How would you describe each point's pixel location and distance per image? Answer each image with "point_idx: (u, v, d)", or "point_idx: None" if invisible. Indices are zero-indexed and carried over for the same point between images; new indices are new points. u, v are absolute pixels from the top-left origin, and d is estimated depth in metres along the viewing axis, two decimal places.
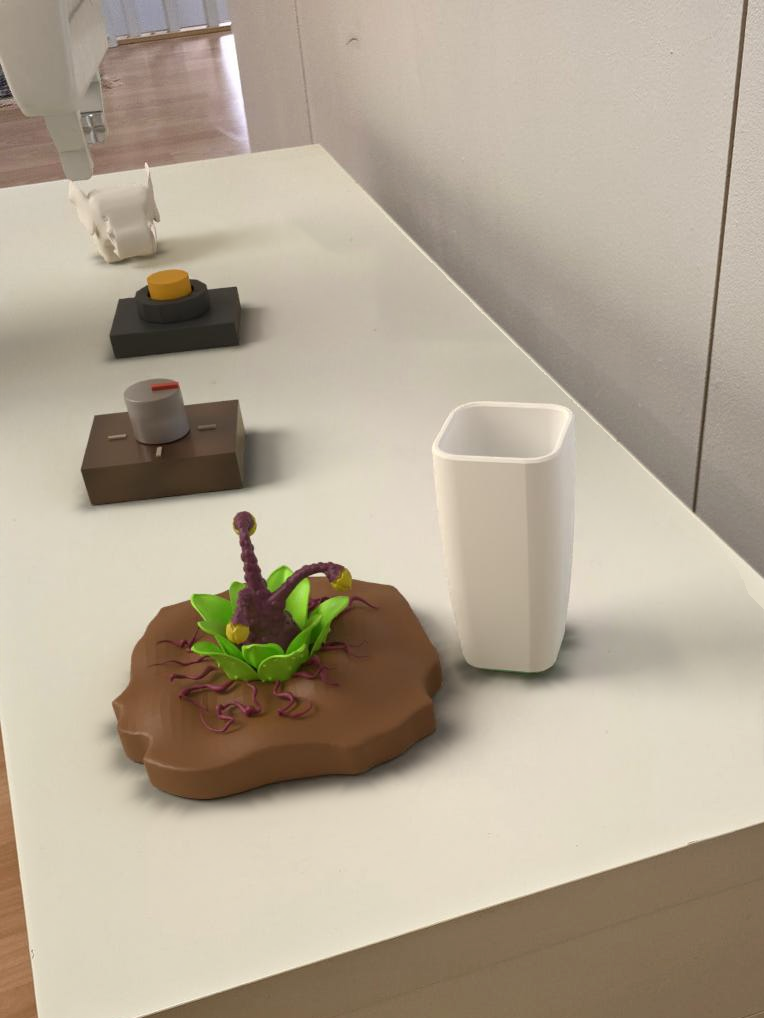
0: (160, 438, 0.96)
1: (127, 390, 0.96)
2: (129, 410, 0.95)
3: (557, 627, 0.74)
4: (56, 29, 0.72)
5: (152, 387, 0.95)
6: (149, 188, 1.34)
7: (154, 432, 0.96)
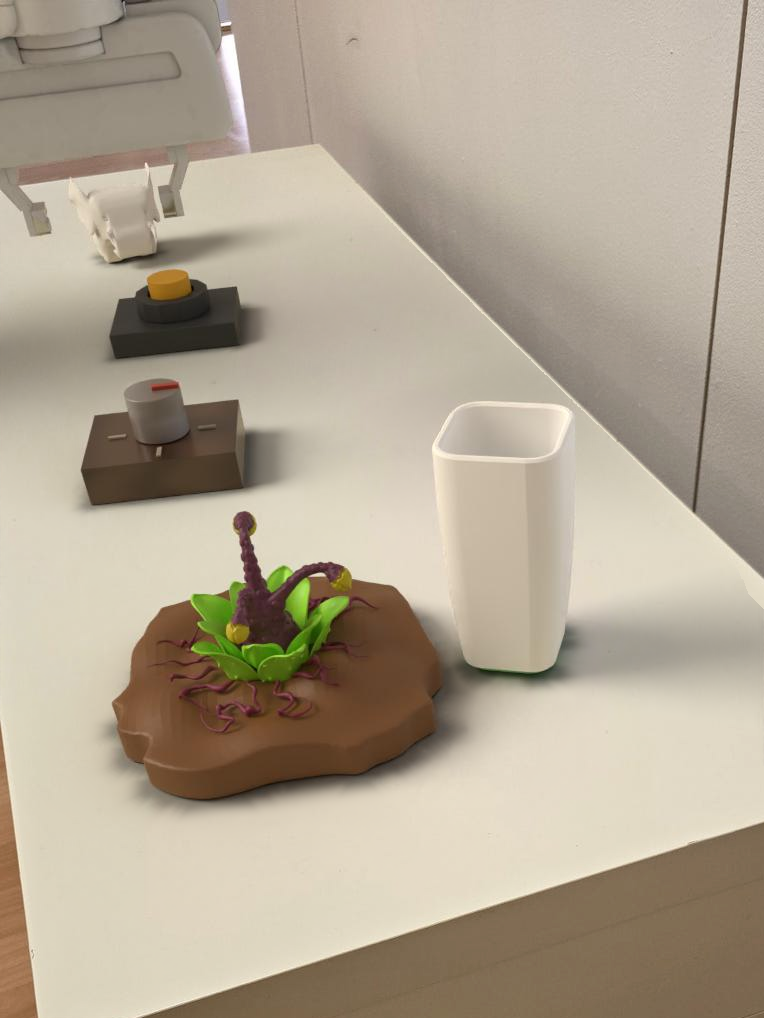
0: (160, 438, 0.96)
1: (127, 390, 0.96)
2: (129, 410, 0.95)
3: (557, 627, 0.74)
4: None
5: (152, 387, 0.95)
6: (149, 188, 1.34)
7: (154, 432, 0.96)
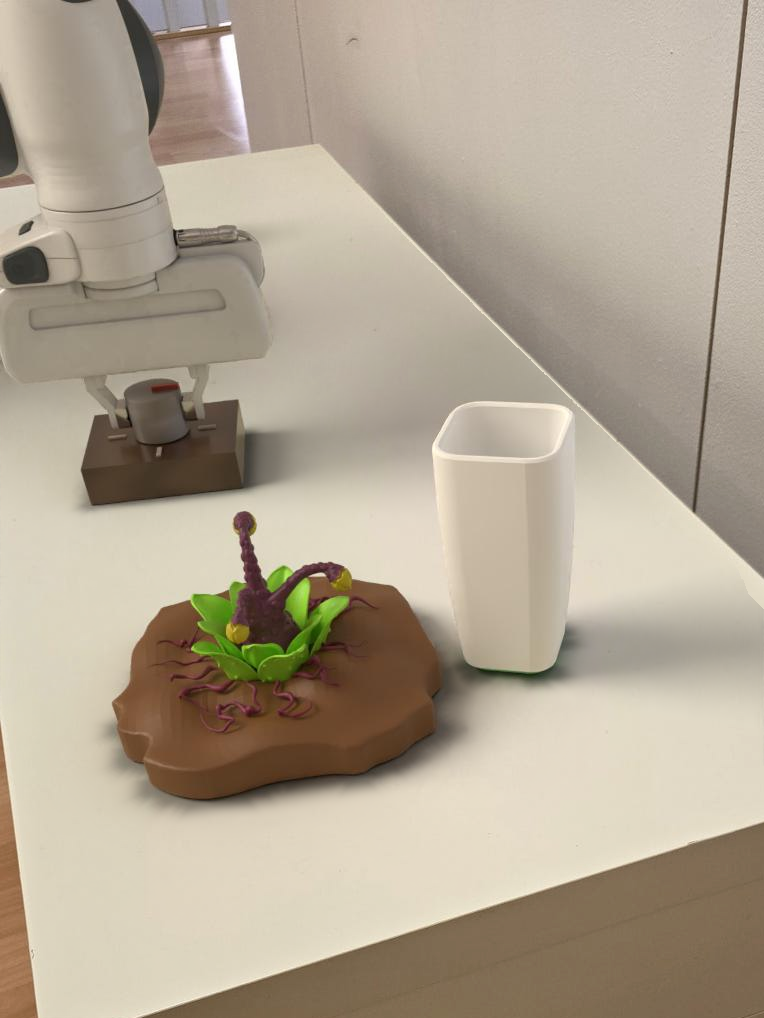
0: (160, 438, 0.96)
1: (127, 390, 0.96)
2: (129, 410, 0.95)
3: (557, 627, 0.74)
4: None
5: (152, 387, 0.95)
6: None
7: (154, 432, 0.96)
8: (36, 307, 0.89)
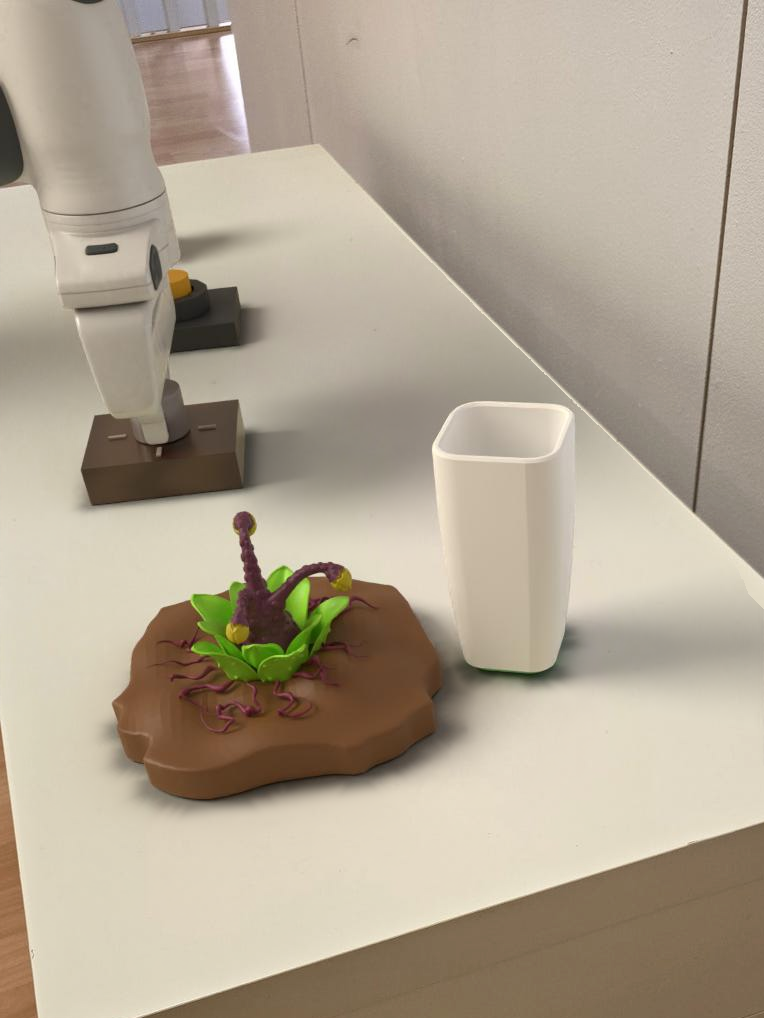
0: (188, 423, 0.98)
1: None
2: (166, 410, 0.95)
3: (557, 627, 0.74)
4: (144, 356, 0.84)
5: None
6: None
7: (186, 418, 0.97)
8: None
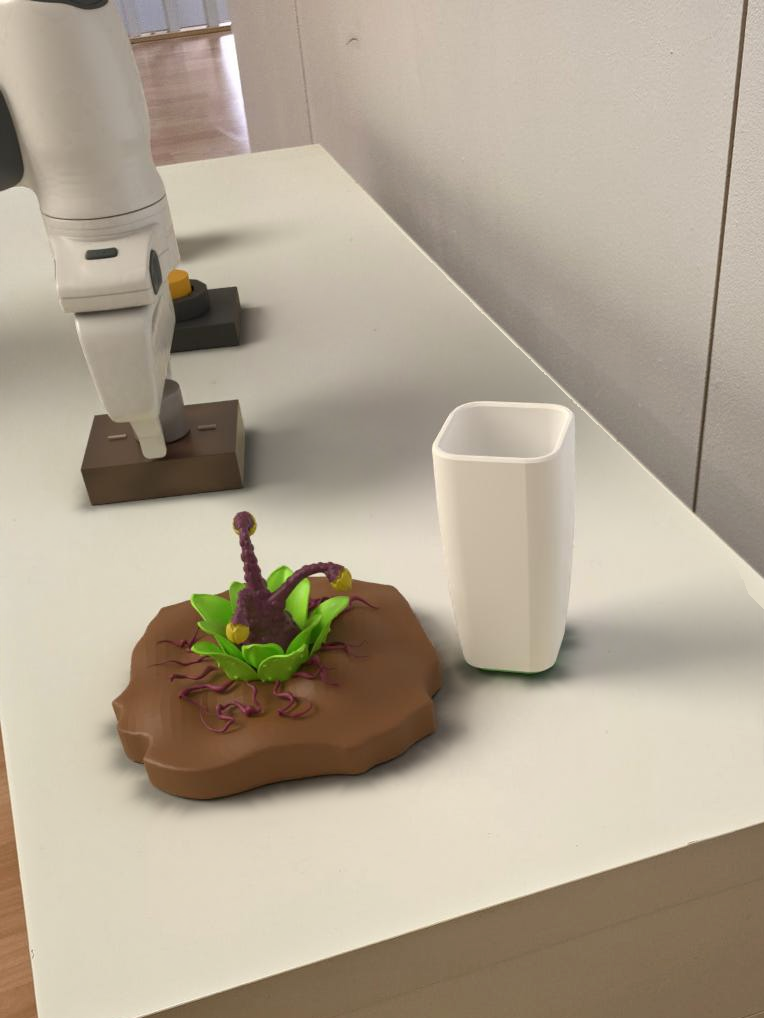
0: (188, 423, 0.98)
1: None
2: (166, 410, 0.95)
3: (557, 627, 0.74)
4: (144, 360, 0.84)
5: None
6: None
7: (186, 418, 0.97)
8: None
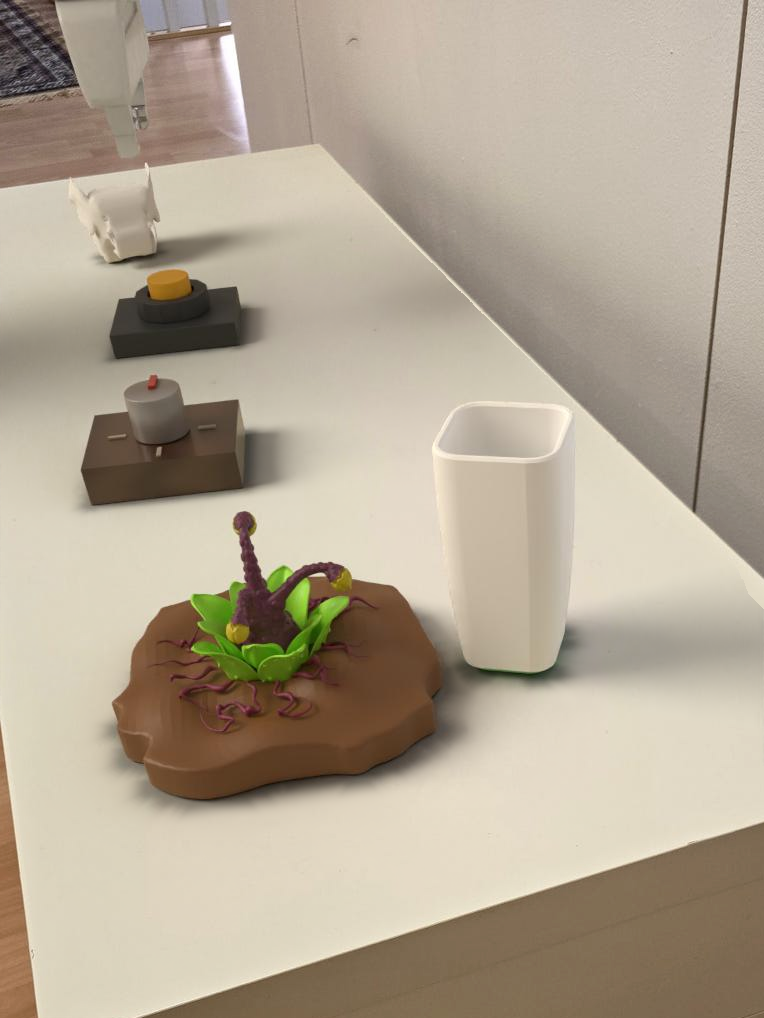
0: (188, 423, 0.98)
1: (144, 400, 0.94)
2: (166, 410, 0.95)
3: (557, 627, 0.74)
4: (116, 43, 0.96)
5: (153, 385, 0.95)
6: (149, 188, 1.34)
7: (186, 418, 0.97)
8: None
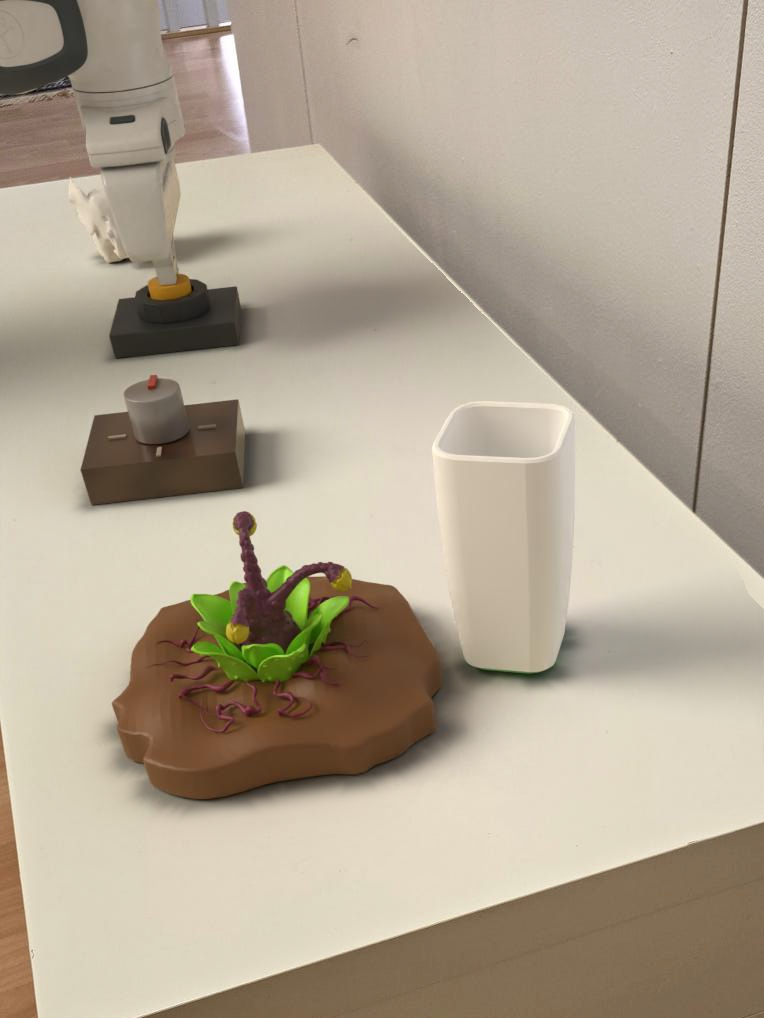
0: (188, 423, 0.98)
1: (144, 400, 0.94)
2: (166, 410, 0.95)
3: (557, 627, 0.74)
4: (156, 207, 1.05)
5: (153, 385, 0.95)
6: None
7: (186, 418, 0.97)
8: None
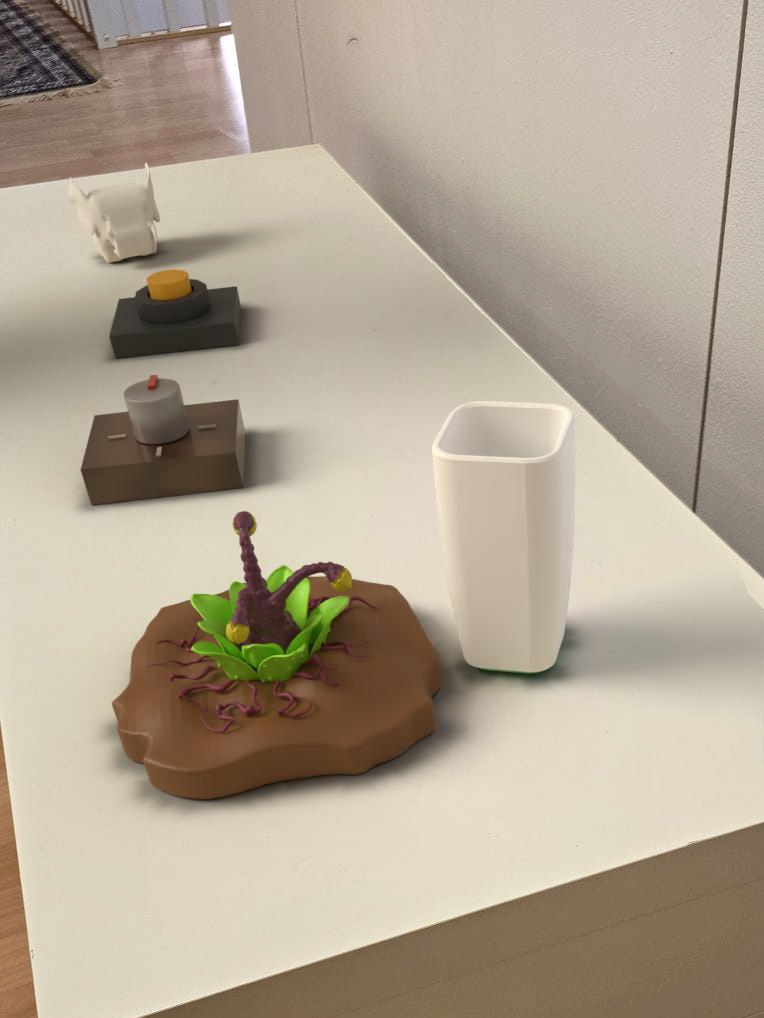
0: (188, 423, 0.98)
1: (144, 400, 0.94)
2: (166, 410, 0.95)
3: (557, 627, 0.74)
4: None
5: (153, 385, 0.95)
6: (149, 188, 1.34)
7: (186, 418, 0.97)
8: None
